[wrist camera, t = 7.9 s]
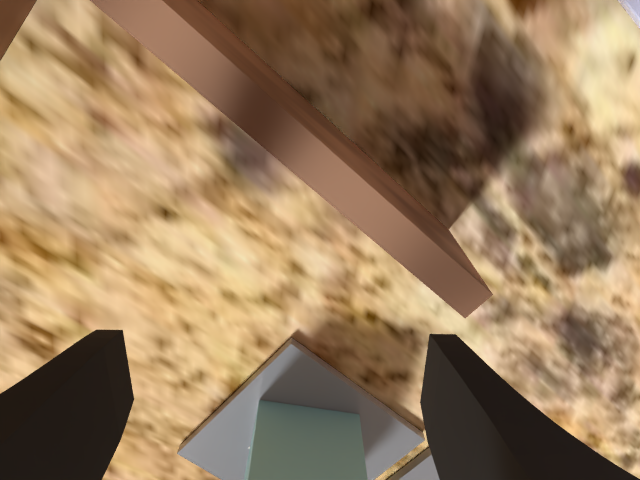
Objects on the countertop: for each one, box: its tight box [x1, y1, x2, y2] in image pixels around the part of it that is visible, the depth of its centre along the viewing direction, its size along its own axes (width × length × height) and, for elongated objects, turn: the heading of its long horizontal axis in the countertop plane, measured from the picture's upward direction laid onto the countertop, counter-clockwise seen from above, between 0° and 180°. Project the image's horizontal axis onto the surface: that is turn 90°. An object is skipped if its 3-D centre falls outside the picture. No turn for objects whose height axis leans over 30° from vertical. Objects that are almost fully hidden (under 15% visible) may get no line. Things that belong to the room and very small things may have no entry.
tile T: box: [177, 337, 425, 480], centre depth 25 cm, size 9×9×1 cm
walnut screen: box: [0, 0, 493, 318], centre depth 18 cm, size 19×17×6 cm
